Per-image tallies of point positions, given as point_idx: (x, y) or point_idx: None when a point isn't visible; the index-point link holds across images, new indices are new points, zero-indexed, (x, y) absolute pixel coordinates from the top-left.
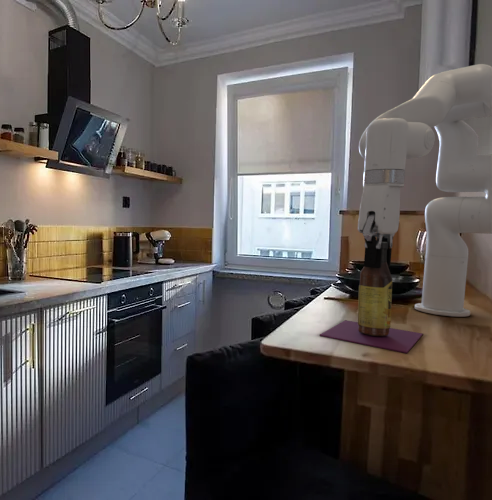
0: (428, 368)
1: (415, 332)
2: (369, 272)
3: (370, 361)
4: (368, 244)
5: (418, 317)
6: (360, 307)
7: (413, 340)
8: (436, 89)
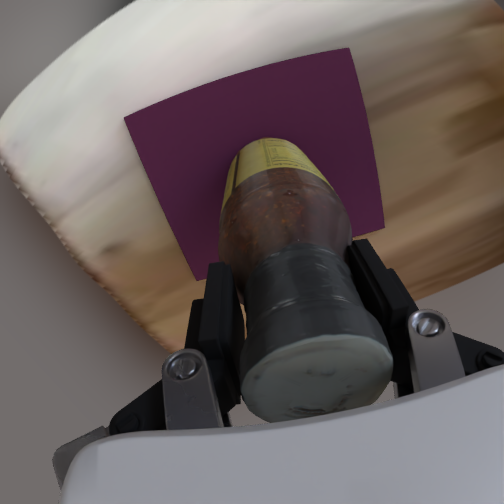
0: (157, 324)
1: (381, 215)
2: None
3: (94, 272)
4: (156, 395)
5: None
6: (229, 175)
7: None
8: None
